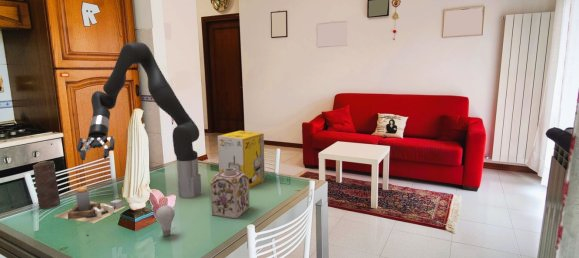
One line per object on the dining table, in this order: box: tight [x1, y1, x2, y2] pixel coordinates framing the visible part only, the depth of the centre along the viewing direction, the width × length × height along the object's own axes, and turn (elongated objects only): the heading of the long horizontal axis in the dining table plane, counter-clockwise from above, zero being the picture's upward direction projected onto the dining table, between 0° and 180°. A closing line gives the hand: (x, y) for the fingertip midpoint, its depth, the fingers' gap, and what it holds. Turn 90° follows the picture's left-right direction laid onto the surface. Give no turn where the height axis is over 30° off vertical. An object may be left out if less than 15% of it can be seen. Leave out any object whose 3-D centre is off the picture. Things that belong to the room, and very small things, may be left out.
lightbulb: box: [155, 205, 176, 237], centre depth 118 cm, size 6×6×11 cm
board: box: [53, 200, 126, 224], centre depth 137 cm, size 20×16×1 cm
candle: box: [32, 160, 61, 210], centre depth 142 cm, size 8×7×20 cm
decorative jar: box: [210, 168, 250, 219], centre depth 137 cm, size 12×12×18 cm
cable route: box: [86, 199, 124, 218], centre depth 136 cm, size 7×14×3 cm, turn 162°
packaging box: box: [217, 130, 266, 189], centre depth 172 cm, size 16×16×25 cm
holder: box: [67, 202, 101, 220], centre depth 135 cm, size 9×9×2 cm
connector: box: [75, 186, 91, 211], centre depth 135 cm, size 4×4×10 cm
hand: (93, 158), depth 145 cm, fingers open, 8 cm apart
